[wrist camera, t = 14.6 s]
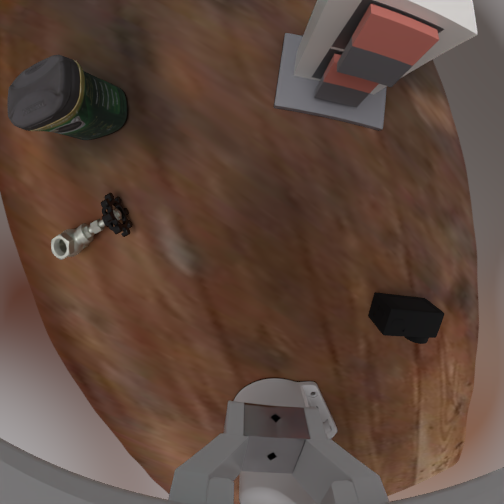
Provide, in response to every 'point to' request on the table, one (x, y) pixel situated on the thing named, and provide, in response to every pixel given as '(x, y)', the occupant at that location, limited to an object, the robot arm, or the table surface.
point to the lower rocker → (342, 86)
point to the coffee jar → (65, 100)
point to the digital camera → (405, 317)
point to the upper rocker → (385, 46)
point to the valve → (92, 229)
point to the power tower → (336, 39)
